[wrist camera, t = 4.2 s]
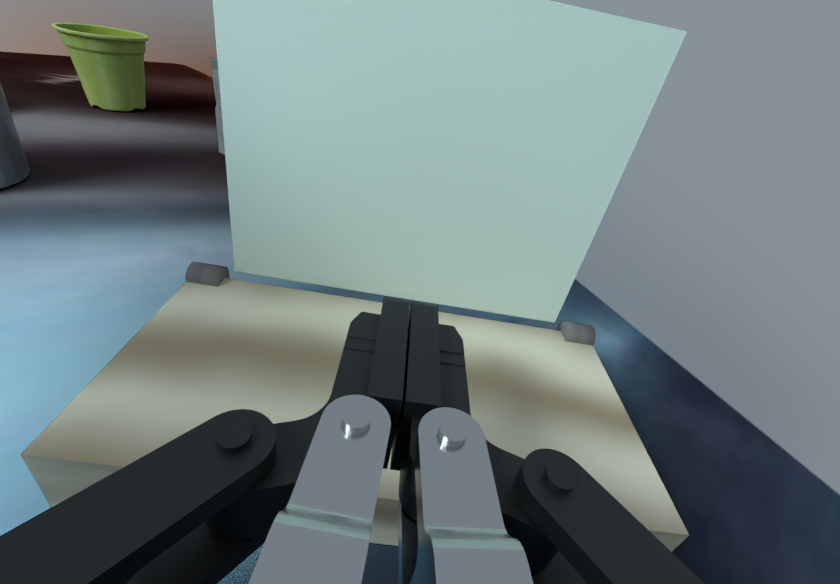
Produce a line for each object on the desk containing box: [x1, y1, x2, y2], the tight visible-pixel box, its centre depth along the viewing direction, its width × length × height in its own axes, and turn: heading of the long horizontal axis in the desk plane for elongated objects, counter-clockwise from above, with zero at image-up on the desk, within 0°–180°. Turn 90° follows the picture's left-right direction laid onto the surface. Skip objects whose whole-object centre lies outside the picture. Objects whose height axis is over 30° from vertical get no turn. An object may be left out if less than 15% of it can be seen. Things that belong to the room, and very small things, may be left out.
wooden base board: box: [21, 262, 689, 552], centre depth 19 cm, size 12×22×4 cm, turn 89°
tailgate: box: [213, 0, 687, 323], centre depth 20 cm, size 2×18×14 cm, turn 89°
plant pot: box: [52, 23, 148, 112], centre depth 52 cm, size 9×9×9 cm
